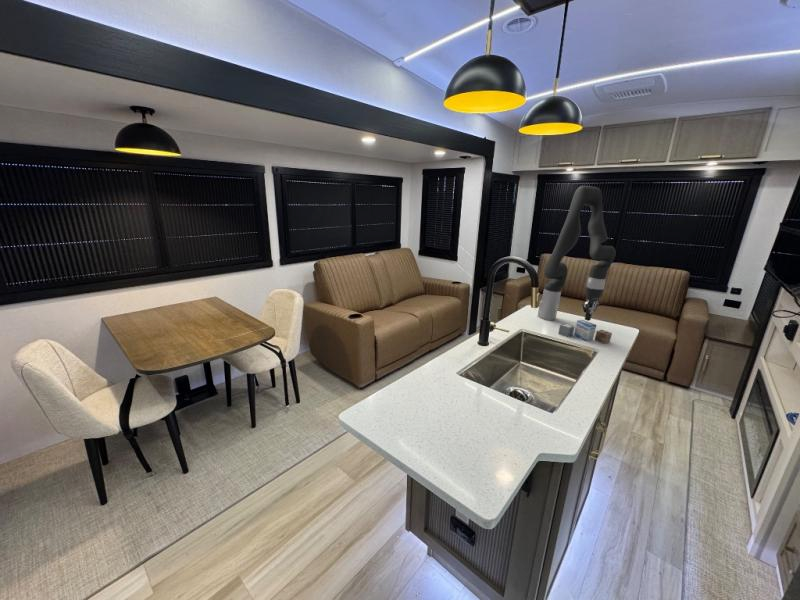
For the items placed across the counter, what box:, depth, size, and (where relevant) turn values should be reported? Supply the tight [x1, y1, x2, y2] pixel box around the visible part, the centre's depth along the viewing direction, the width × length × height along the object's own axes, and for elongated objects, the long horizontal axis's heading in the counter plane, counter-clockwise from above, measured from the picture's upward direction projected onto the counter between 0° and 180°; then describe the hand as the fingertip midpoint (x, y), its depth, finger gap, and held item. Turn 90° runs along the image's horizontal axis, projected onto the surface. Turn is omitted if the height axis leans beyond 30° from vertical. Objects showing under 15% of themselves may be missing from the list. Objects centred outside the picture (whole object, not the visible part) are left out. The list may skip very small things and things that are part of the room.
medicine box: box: [573, 319, 597, 342], centre depth 162 cm, size 8×4×9 cm, turn 25°
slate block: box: [558, 323, 576, 338], centre depth 166 cm, size 5×5×5 cm
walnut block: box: [594, 329, 613, 345], centre depth 160 cm, size 5×5×5 cm
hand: (587, 320), depth 161 cm, fingers closed
